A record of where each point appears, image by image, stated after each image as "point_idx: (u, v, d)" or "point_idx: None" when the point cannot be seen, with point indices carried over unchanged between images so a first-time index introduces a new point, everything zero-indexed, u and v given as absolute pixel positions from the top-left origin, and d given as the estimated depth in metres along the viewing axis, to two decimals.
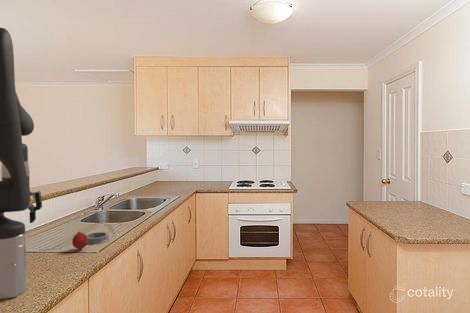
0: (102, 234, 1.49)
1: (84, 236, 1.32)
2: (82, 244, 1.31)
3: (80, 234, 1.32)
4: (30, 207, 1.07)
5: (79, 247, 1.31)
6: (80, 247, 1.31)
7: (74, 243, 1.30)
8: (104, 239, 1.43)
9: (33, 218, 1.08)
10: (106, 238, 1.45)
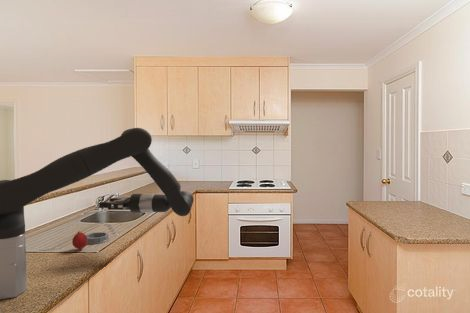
0: (102, 234, 1.49)
1: (84, 236, 1.32)
2: (82, 244, 1.31)
3: (80, 234, 1.32)
4: (112, 202, 1.27)
5: (79, 247, 1.31)
6: (80, 247, 1.31)
7: (74, 243, 1.30)
8: (104, 239, 1.43)
9: (102, 203, 1.26)
10: (106, 238, 1.45)
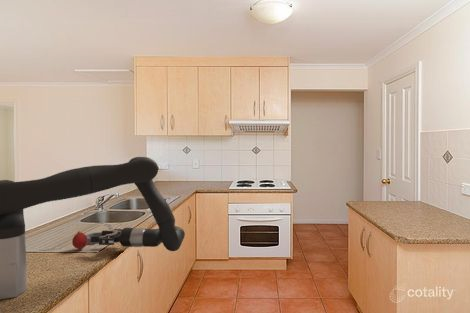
0: None
1: (84, 236, 1.32)
2: (82, 244, 1.31)
3: (80, 234, 1.32)
4: (104, 236, 1.27)
5: (79, 247, 1.31)
6: (80, 247, 1.31)
7: (74, 243, 1.30)
8: None
9: (93, 238, 1.27)
10: None
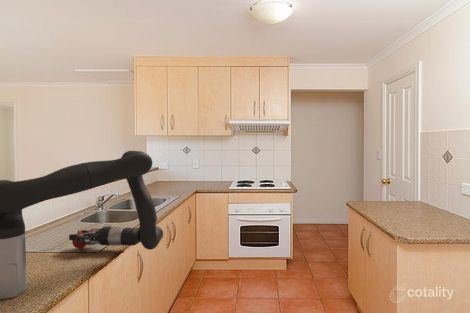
0: None
1: None
2: (82, 243, 1.31)
3: None
4: (82, 234, 1.29)
5: (79, 247, 1.31)
6: (80, 247, 1.32)
7: (74, 243, 1.30)
8: None
9: (72, 236, 1.29)
10: None
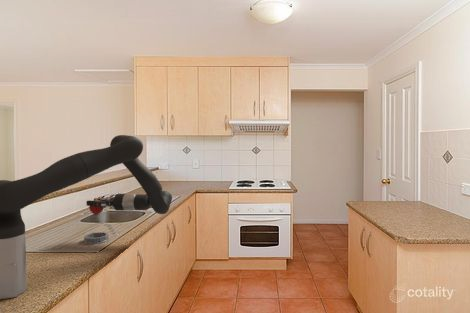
0: (102, 234, 1.49)
1: None
2: (98, 209, 1.43)
3: None
4: (98, 200, 1.41)
5: (96, 212, 1.43)
6: (96, 212, 1.43)
7: (91, 208, 1.42)
8: (104, 239, 1.43)
9: (89, 201, 1.41)
10: (106, 238, 1.45)
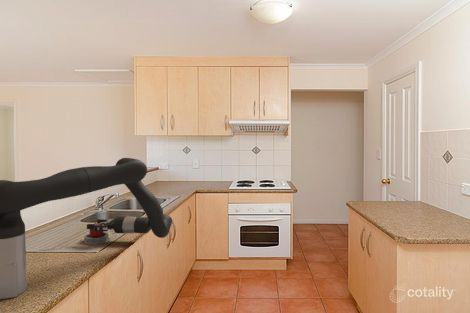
0: None
1: None
2: (98, 233, 1.43)
3: None
4: (98, 224, 1.41)
5: (96, 237, 1.44)
6: None
7: (91, 233, 1.43)
8: (104, 239, 1.43)
9: (89, 225, 1.40)
10: (106, 238, 1.45)
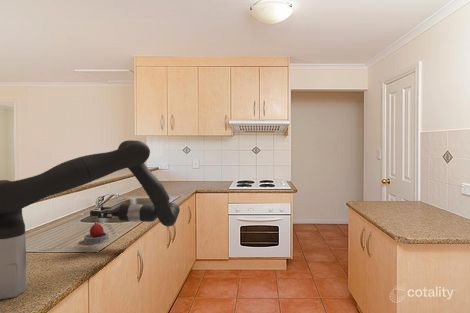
0: None
1: (100, 227, 1.45)
2: (98, 234, 1.43)
3: (97, 225, 1.44)
4: (102, 210, 1.34)
5: (96, 237, 1.44)
6: None
7: (91, 233, 1.43)
8: (104, 239, 1.43)
9: (93, 212, 1.34)
10: (106, 238, 1.45)
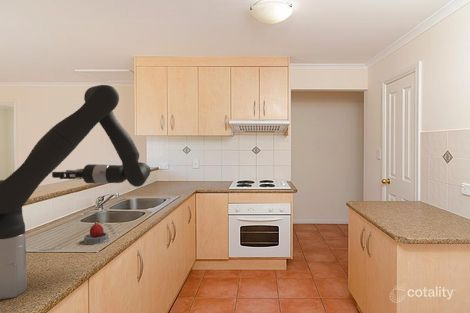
0: None
1: (100, 227, 1.45)
2: (98, 234, 1.43)
3: (97, 225, 1.44)
4: None
5: (96, 237, 1.44)
6: None
7: (91, 233, 1.43)
8: (104, 239, 1.43)
9: (55, 173, 1.23)
10: (106, 238, 1.45)
